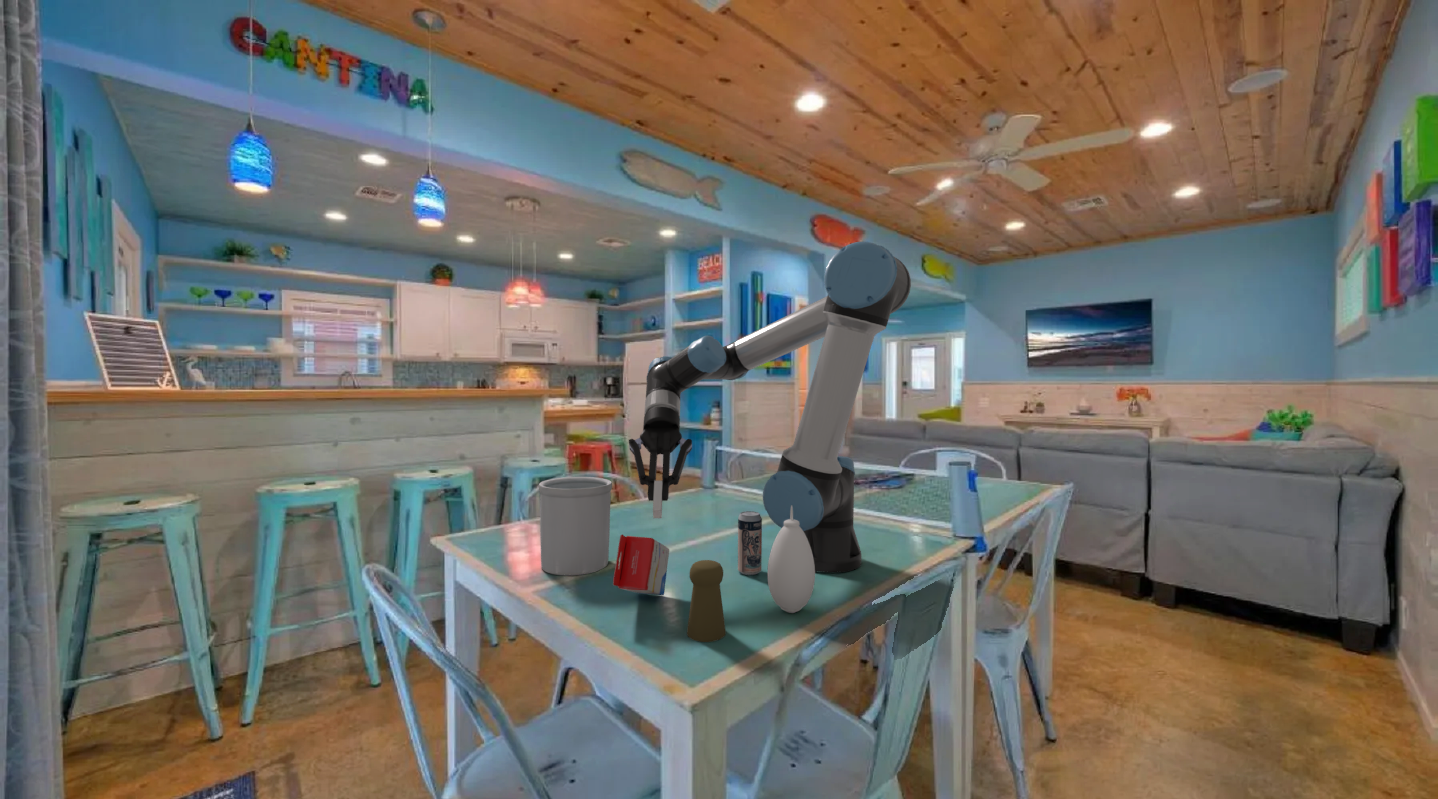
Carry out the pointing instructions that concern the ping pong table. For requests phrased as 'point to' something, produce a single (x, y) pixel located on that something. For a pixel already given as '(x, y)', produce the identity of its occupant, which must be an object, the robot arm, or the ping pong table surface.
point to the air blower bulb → (791, 567)
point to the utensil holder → (574, 524)
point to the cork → (706, 602)
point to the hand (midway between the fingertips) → (657, 514)
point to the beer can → (749, 543)
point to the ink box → (641, 565)
